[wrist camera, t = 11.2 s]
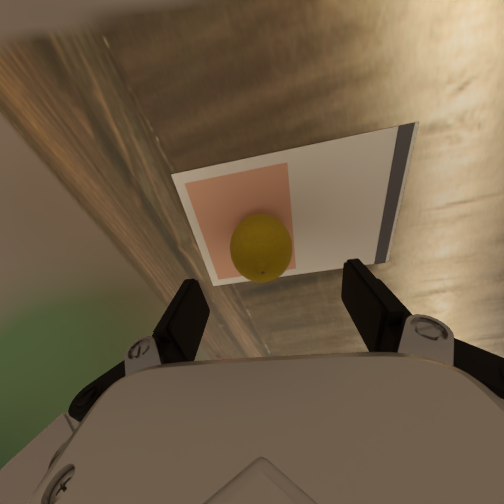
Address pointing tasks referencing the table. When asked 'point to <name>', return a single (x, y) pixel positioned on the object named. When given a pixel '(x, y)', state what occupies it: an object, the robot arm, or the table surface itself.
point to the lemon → (261, 248)
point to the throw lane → (305, 200)
